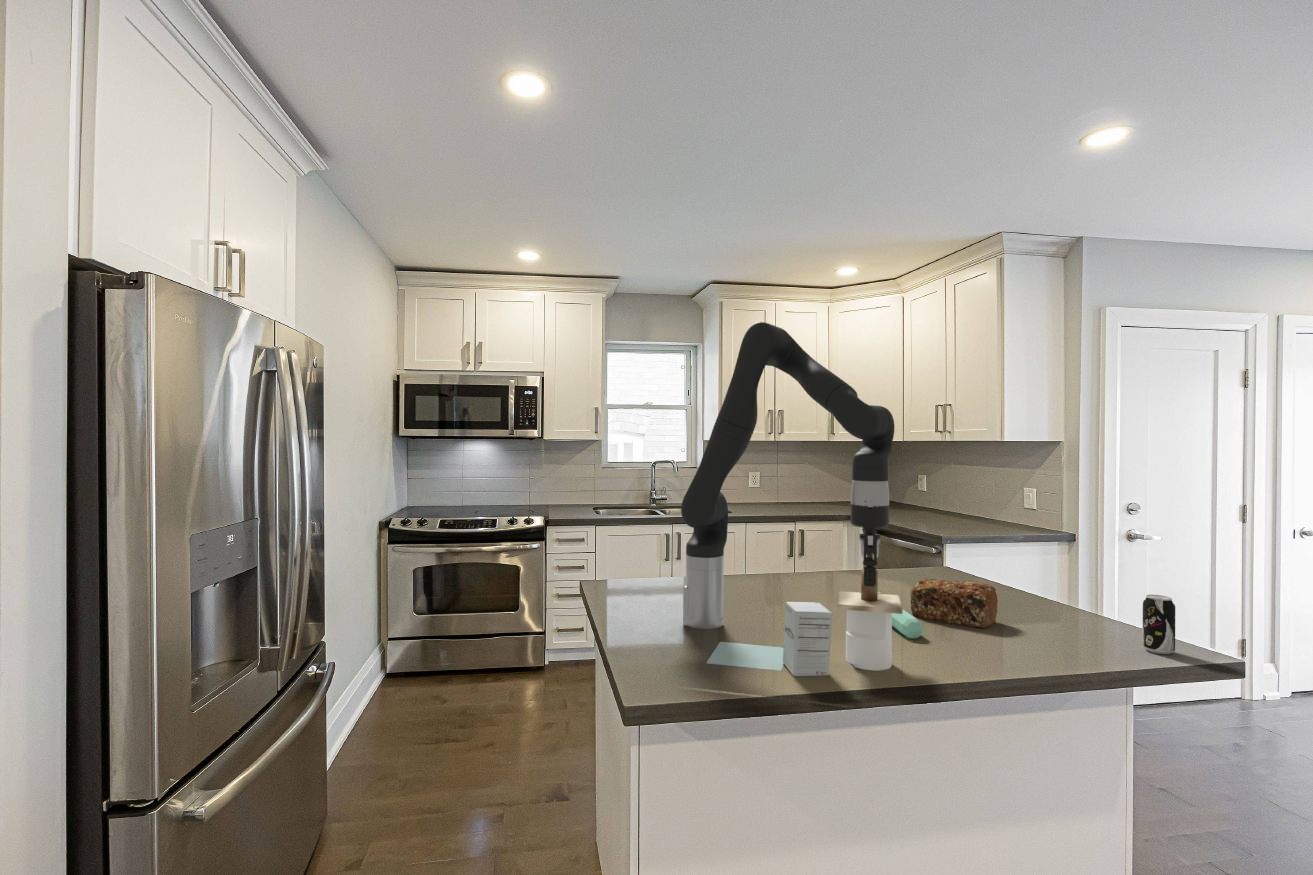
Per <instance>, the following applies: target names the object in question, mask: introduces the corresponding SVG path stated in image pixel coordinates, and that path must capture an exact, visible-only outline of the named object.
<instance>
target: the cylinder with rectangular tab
mask: <svg viewBox="0 0 1313 875" xmlns="http://www.w3.org/2000/svg"><path fill="white" fill-rule="evenodd" d="M845 611H846V617H845V618H846V621H845V622H846V626H845V628H846V629H845V660H846V662H848V663H849V664H851V665H853V666H852V667H853V668H856V669H861V670H865V671H885V670H888V669H890V668H892V665H893V664H892V663H893V662H892V660H893V659H892V656H893V654H892V652H893V626H892V613H882V612H869V611H856V610H845Z"/></svg>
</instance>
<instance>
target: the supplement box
mask: <svg viewBox="0 0 1313 875" xmlns="http://www.w3.org/2000/svg"><path fill="white" fill-rule="evenodd" d="M832 624H833V613H832V611H831V610H829V609H828V608H827V607H825V606H824V605H822V603H820V602H814V601H811V602H810V601H809V602H808V601H786V602H785V616H784V629H783V632H784V633H783V663H784V664H783V665H785V666H786V668H787V669H788V671H789V672H790V674H791V675H792V676H793V677H803V676H804V677H808V676H811V677H812V676H813V677H814V676H829V674H830V673H829V672H830V656H831V643H832V642H831V640H832V639H831V638H832V626H833V625H832Z"/></svg>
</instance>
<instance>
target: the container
mask: <svg viewBox="0 0 1313 875" xmlns="http://www.w3.org/2000/svg"><path fill="white" fill-rule="evenodd" d="M878 594H883V593H882V592H880V591H878ZM892 628H894V629H895V630H897V631H898V632H899V633H900V634H902V635H903V636H904V637H906V638H907V639H919V637H920V636H922V635H923V632H924V631H923V628H924V627H923V623H922V622H921V621H920V620H919V619H917V617H916V616H913V615H912V614H910V613H909V612H907V610H905V609H903V608H902V614H896V613H892Z"/></svg>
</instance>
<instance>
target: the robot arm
mask: <svg viewBox="0 0 1313 875" xmlns="http://www.w3.org/2000/svg"><path fill="white" fill-rule="evenodd" d="M742 338H743V339H742V340H741V342H740V343H741V344H740V347H739V352H738V355H737V358H736V362H735V366H734V370H733V374H732V375H731V376H732V377H731V379H730V383H729V385H728V387H727V391H726V393H725V396H724V399H723V402H722V405H721V407H720V409H719V412H718V414H717V416H716V419H715V422H714V425H713V428H712V430H711V434H710V436H709V439H708V442H707V444H706V447H705V449H704V453H703V455H702V458H701V461H700V463H699V466H698V467H697V468H698V469H697V470H696V472H695V475H694V476H693V479H692V481H691V483H690V485H689V487H688V489H687V490H686V493H685V495H684V496H683V499H682V502H681V507H680V514H681V517H682V520H683V522H684V523H685V524H686V525H687V526H688V527H689V528H692V529H693V531H692V534H691V537H690V538H689V540H688V541H687V543H686V545H685V546H686V547H685V585H684V587H683V603H682V604H683V607H682V608H683V609H682V610H683V613H682V614H683V618H682V620H683V621H682V622H683V624H682V626H685V627H689V628H690V627H691V628H694V629H699V630H700V629H701V630H711V629H713V630H715V629H717V628H721V627H723V626H724V579H725V578H724V572H725V571H724V568H725V567H724V566H725V564H724V562H725V560H724V558H725V557H724V556H725V552H724V550H725V546H726V545H727V541H728V526H729V525H728V523H729V507H728V501H727V499H726V497H725V496H724V494H723V493H722V492H721V490H722V488H723V485H724V482H725V481H726V479H727V477H728V475H729V473H731V471H732V469H733V468H734V467H735V466H736V464H738V462H739V460H740V459H741V458H742V456H743V455H744V453H745V452H746V450H747V448H748V445H749V444H750V442H751V438H752V437H753V434H754V431H755V429H756V425H757V422H758V388H759V383H760V380H761V377H762V375H763V372H764V370H765V368H766V366H768V367H773V368H776V369H778V370H780V371H782V372H783V373H786V374H787V375H789V376H790V377H791V378H793V379H794V380H795V381H796V382H797V383H798V384H799V385H800V386H801V387H802V389H803V390H804V391H805V392H806V394H807V395H808V396H809V397H810V399H811V398H812V400H814V401H815V402H816V403H817V404H818V405H820V406H821V407H822V408H823V409H824V410H826V411H827V412H829V413H830V414H832V416H833V417H834V419H835V420H836V421H837V422H838V424H840V425H841V427H842V428H843V429H844V430H845V431H846V432H847V433H849V434H850V435H851V436H853V437H855V438H856V439H858V440H859V439H860V440H862V441H861V444H860V450H858V451H857V452H856V453H854V455H853V457H852V468H851V469H852V472H851V473H852V474H851V479H852V480H851V488H850V524H851V525H852V526H854V527H861V530H862V533H859V545H860V557H861V558H862V559H863V560H862V569H864V585H865V586H871V587H874V586H875V585H876V570H877V569H876V568H877V566H878V558H879V557H880V547H879V546H880V545H881V536H880V534H877V531H876V530H877V529H878V528H886V527H889V525H890V489H889V456H890V455H891V450H892V445H893V440H894V435H895V420H894V416H893V414H892V413H891V411H890V410H889V409H888V408H887V407H884V406H882V405H881V406H880V405H872V404H868V403H866V402H865V401H864V400H862V399H860V398H859V397H858V393H857V391H856V390H855V388H854V387H853V386H851V385H850V384H849V383H847V382H846V381H844V380H843V379H842V378H840V377H839V376H838V375H836V374H835V373H833V372H832V371H831V370H829V369H827V368H826V367H825V366H823V365H822V364H821V363H819V362H818V361H817V360H816V359H814V358H813V357H812V356H811V355H810V354H808V352H807V351H805V350H804V349H803V348H802V346H800V344H799V343H798V342H797V341H796V340H795V339H794V337H792V336H791V335H790V333H789V332H788V331H786V330H785V329H784V328H782V327H779V326H776V325H775V324H774V325H773V324H771V323H768V322H767V321H766V322H765V321H757V322H755V323H754V324H752V325H751V326H750V327H749V328H748V329H747V330H746V332H745V333H744V336H743V337H742Z"/></svg>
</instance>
